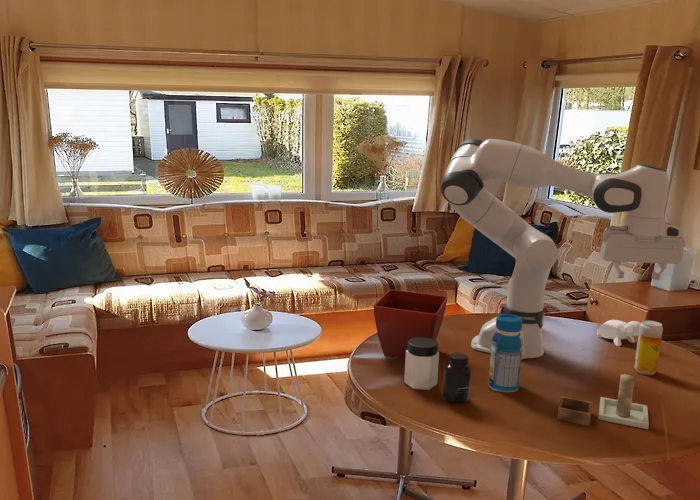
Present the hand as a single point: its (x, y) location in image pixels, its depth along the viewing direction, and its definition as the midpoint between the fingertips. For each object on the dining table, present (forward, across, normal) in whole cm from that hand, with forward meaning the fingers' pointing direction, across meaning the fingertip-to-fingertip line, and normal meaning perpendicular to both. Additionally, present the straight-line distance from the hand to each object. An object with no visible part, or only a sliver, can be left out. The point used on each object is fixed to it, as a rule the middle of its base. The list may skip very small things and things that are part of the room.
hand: (637, 278), depth 165 cm
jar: (+31, -56, -5) cm, 65 cm away
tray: (+31, -7, -18) cm, 37 cm away
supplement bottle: (+31, -48, -13) cm, 59 cm away
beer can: (+31, +11, +12) cm, 35 cm away
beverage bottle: (+31, -34, -5) cm, 46 cm away
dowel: (+30, -7, -18) cm, 36 cm away
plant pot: (+31, -59, +17) cm, 69 cm away
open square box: (+31, -19, -21) cm, 42 cm away
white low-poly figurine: (+31, +12, +37) cm, 50 cm away
